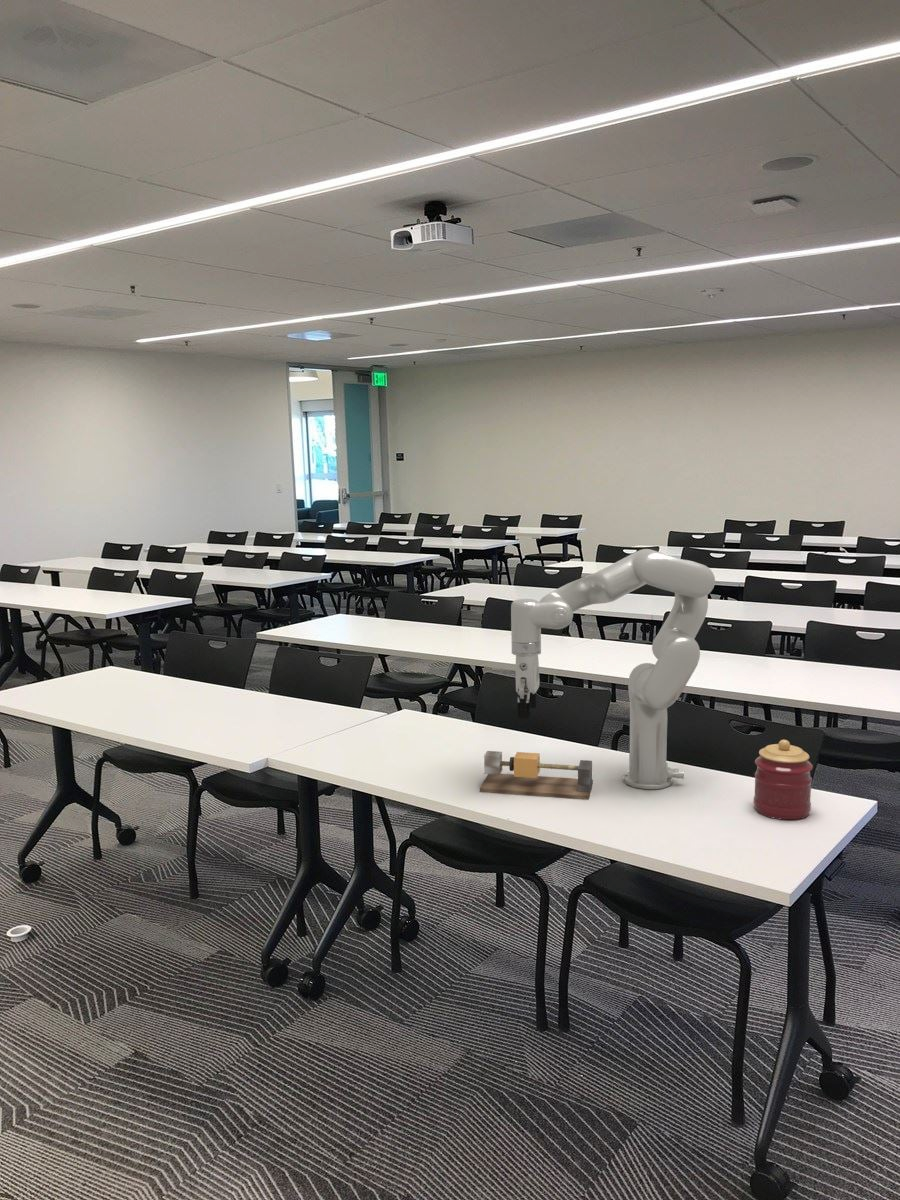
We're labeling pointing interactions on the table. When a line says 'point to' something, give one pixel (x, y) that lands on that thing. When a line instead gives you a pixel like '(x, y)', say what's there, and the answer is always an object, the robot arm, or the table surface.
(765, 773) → the canister
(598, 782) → the table surface
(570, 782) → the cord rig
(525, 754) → the sleeve
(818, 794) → the table surface
